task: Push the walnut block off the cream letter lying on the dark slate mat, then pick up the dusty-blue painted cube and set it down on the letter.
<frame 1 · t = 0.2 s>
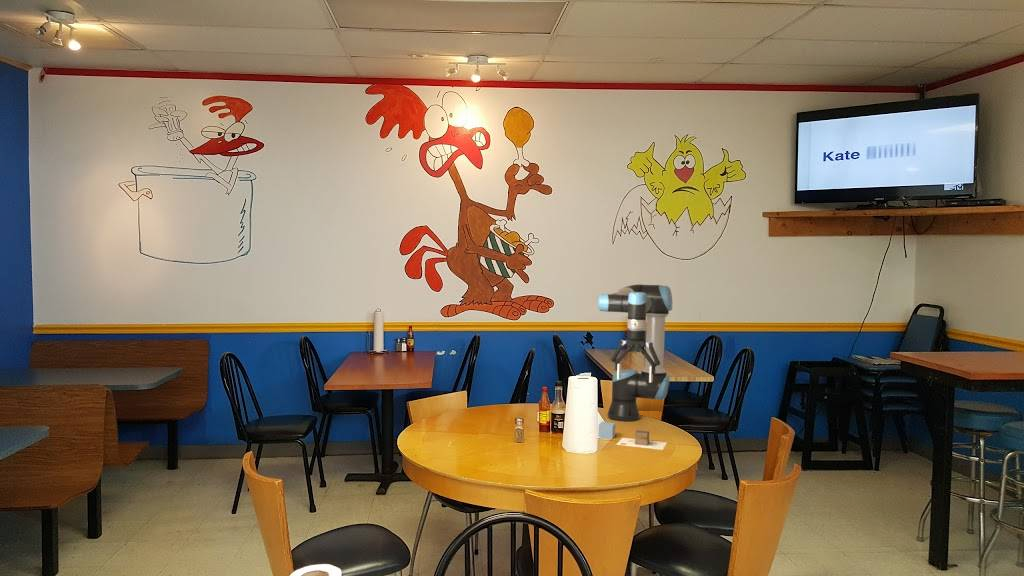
hand: (634, 380, 313), 27 cm above the table, fingers open, 13 cm apart
letter mat: (641, 444, 316), on the table
blue cube: (606, 437, 326), on the table
walnut block: (641, 443, 316), resting on letter mat
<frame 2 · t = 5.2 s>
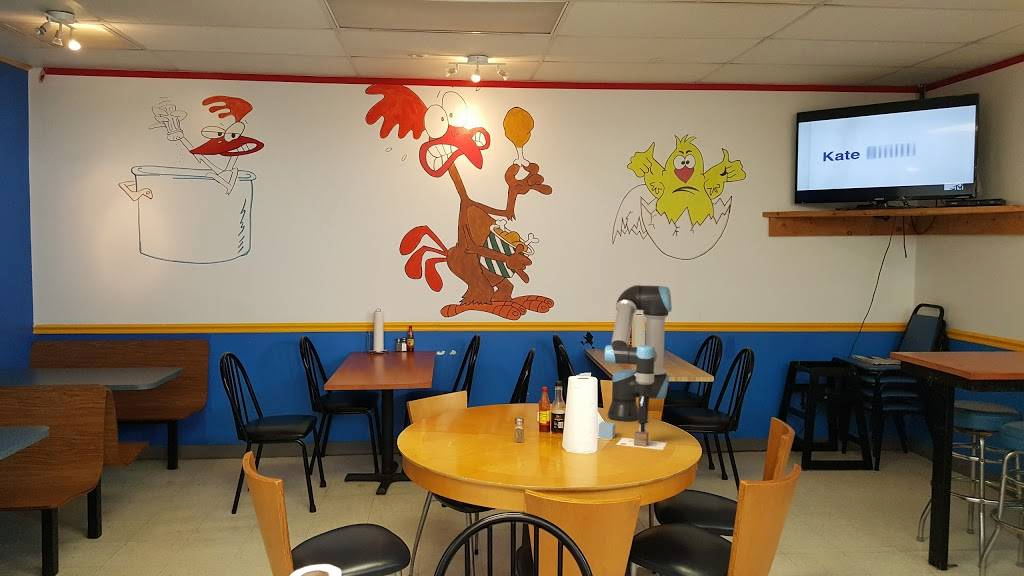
hand: (642, 438, 317), 2 cm above the table, fingers closed
walnut block: (641, 444, 314), resting on letter mat
everything else where it was.
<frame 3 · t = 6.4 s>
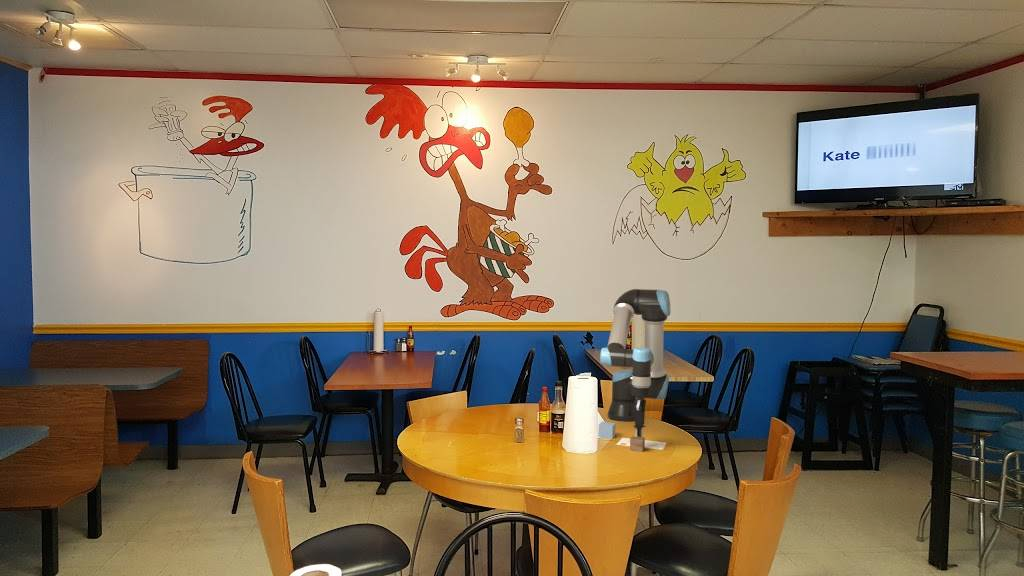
hand: (638, 443, 309), 2 cm above the table, fingers closed
walnut block: (637, 450, 306), on the table, touching gripper
everything else where it was.
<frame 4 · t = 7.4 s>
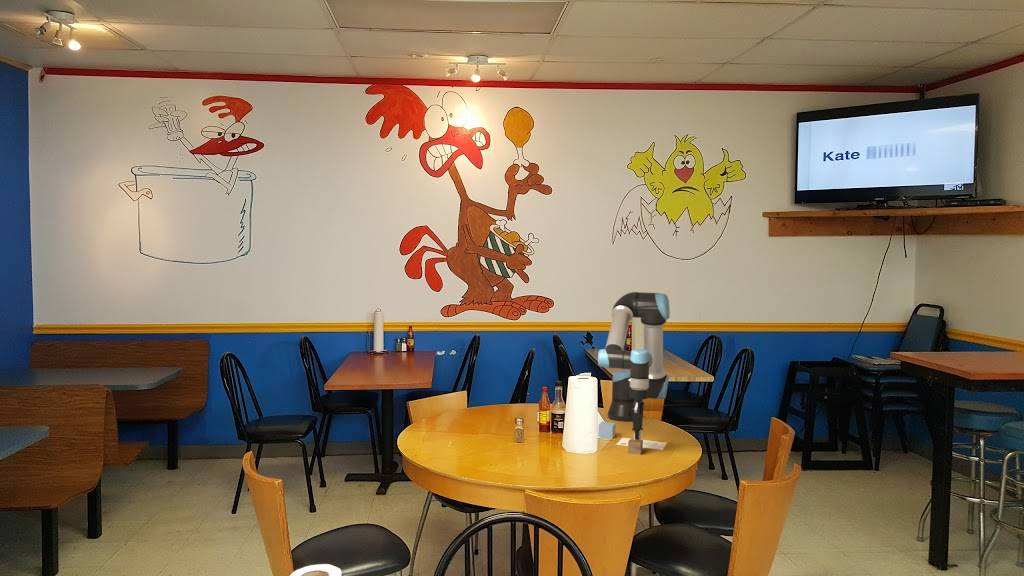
hand: (636, 446, 305), 2 cm above the table, fingers closed
walnut block: (635, 453, 302), on the table, touching gripper
everything else where it was.
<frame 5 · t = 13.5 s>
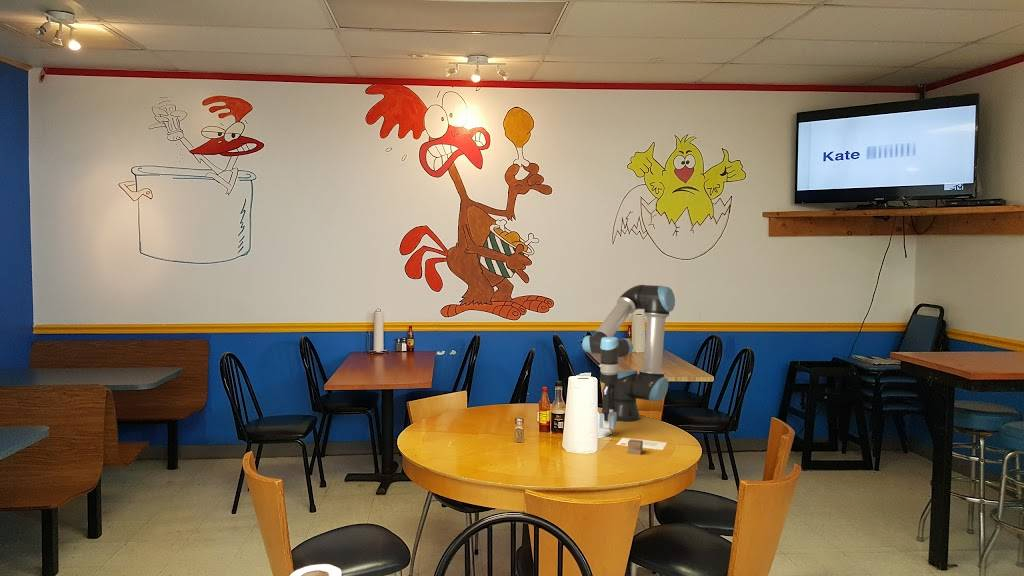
hand: (608, 425, 326), 5 cm above the table, fingers closed on blue cube, 6 cm apart
blue cube: (608, 426, 326), point 4 cm above the table, touching gripper
walnut block: (635, 453, 301), on the table
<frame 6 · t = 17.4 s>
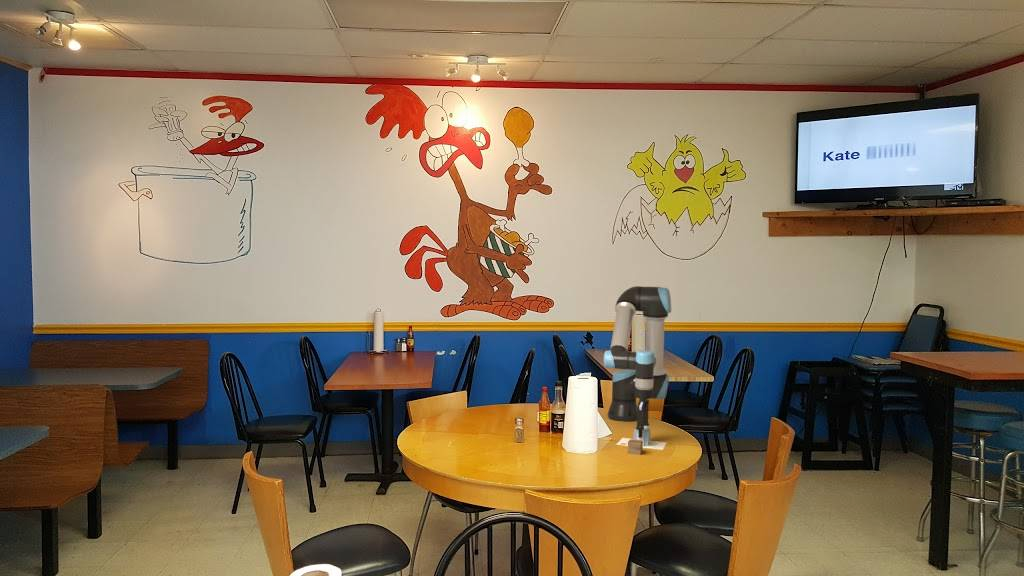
hand: (641, 442, 315), 1 cm above the table, fingers closed on blue cube, 6 cm apart
blue cube: (641, 443, 316), resting on letter mat, touching gripper
everything else where it was.
when the fingers open (1 cm above the table, at t = 17.6 s): blue cube stays where it is, resting on letter mat.
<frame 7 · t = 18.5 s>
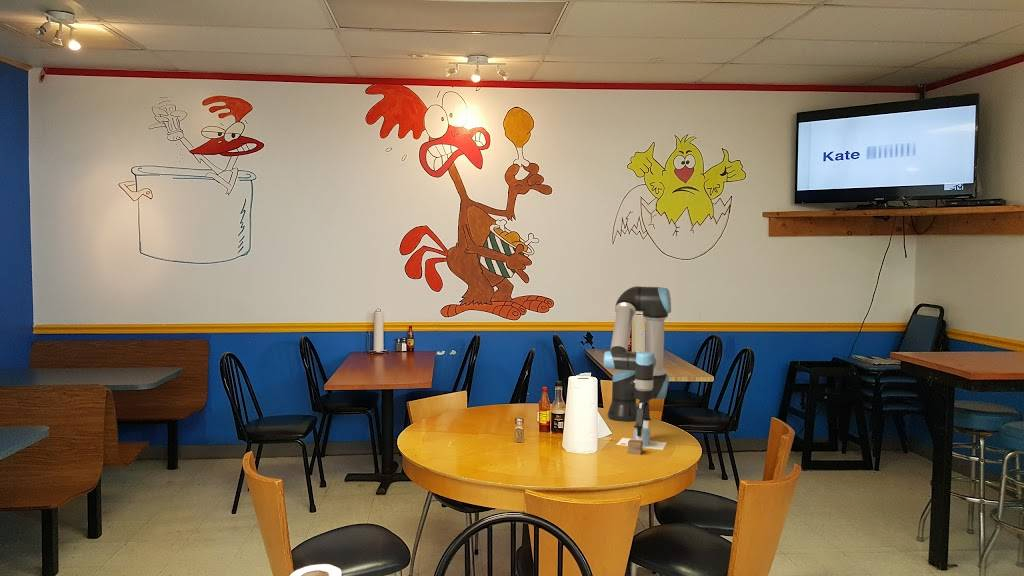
hand: (642, 439, 316), 2 cm above the table, fingers open, 13 cm apart
blue cube: (641, 443, 315), resting on letter mat
everything else where it was.
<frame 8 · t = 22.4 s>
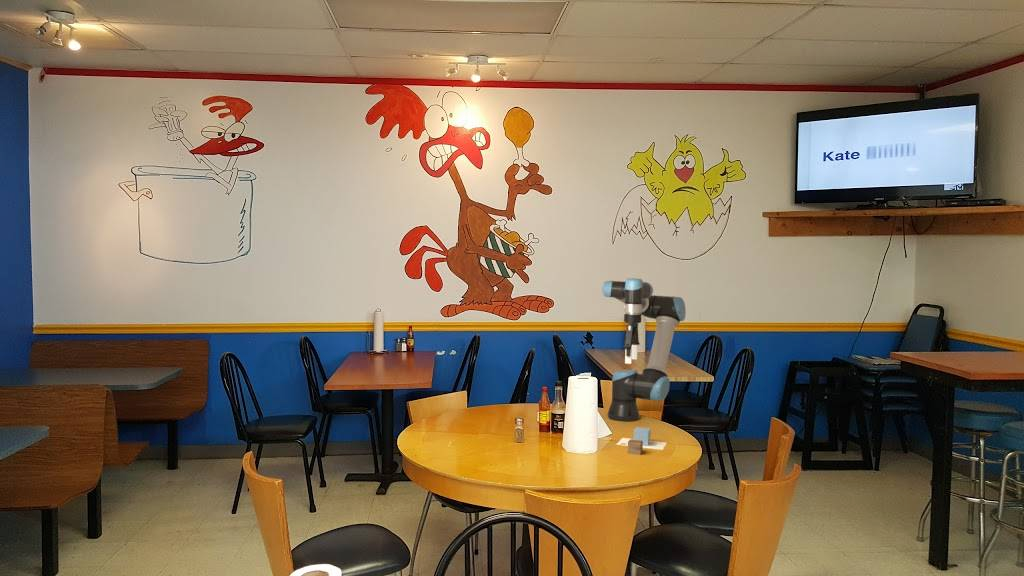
hand: (631, 361, 334), 32 cm above the table, fingers open, 13 cm apart
nothing on the table moved.
at the end: blue cube inside the target area on the letter mat (0.1 cm from its centre), point 0.3 cm above the letter mat's base; walnut block touching table; the gripper is holding nothing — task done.
